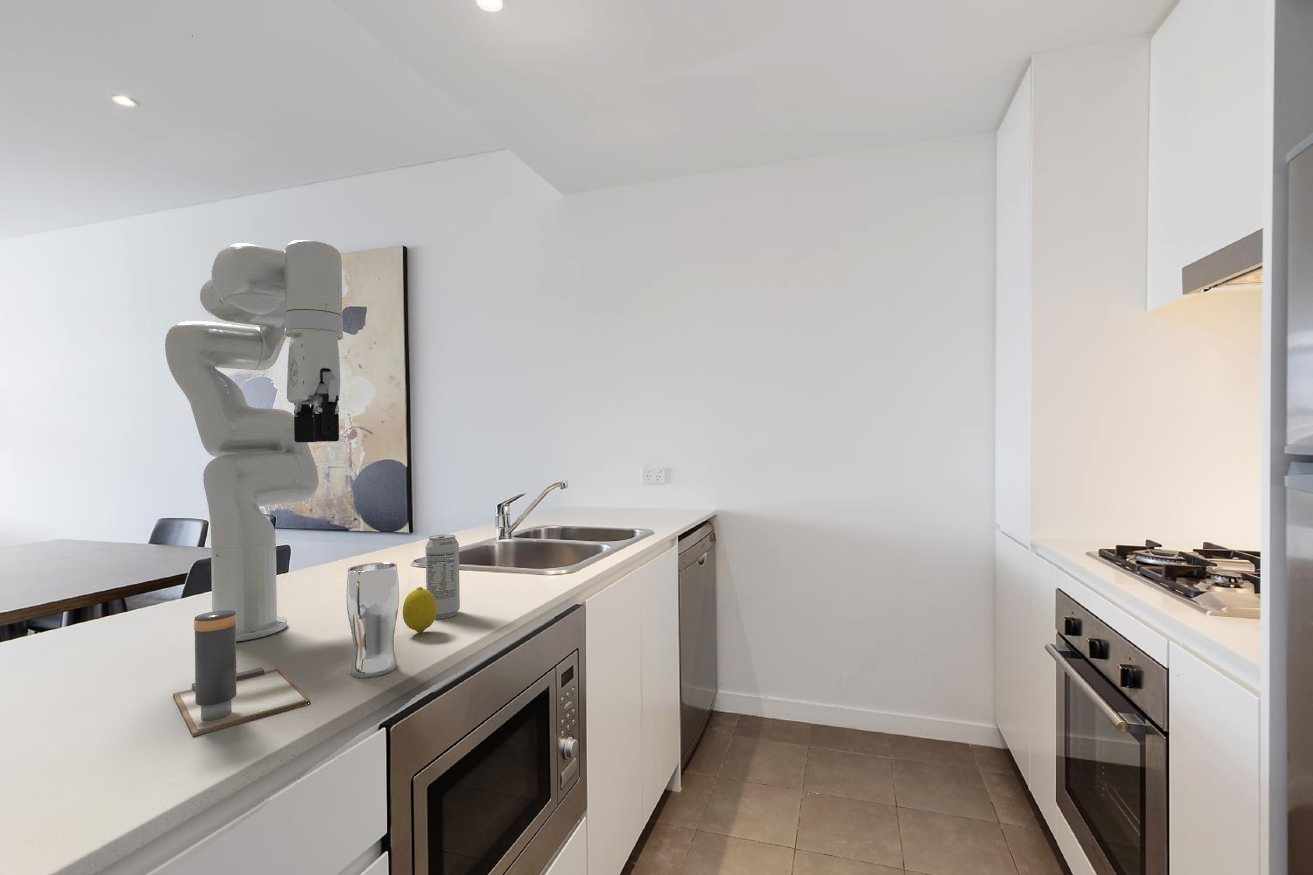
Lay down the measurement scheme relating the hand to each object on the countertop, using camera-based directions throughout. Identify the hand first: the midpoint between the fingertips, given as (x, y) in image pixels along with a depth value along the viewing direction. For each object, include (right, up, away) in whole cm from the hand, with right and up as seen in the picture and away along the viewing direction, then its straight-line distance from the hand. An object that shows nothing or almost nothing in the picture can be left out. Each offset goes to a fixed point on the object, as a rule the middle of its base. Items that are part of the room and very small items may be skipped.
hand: (316, 441), depth 91 cm
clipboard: (-3, -33, -12) cm, 36 cm away
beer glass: (+10, -33, -2) cm, 35 cm away
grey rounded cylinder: (-2, -33, -18) cm, 37 cm away
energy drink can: (+10, -34, +26) cm, 43 cm away
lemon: (+10, -33, +15) cm, 38 cm away
